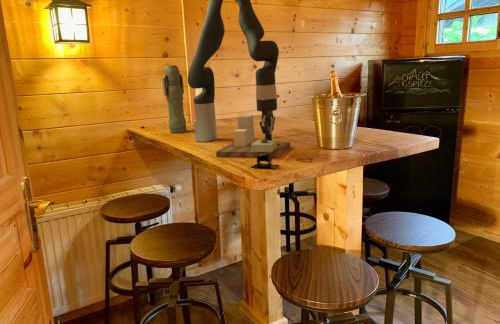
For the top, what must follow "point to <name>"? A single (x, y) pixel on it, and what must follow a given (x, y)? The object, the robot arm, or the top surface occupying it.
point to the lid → (264, 146)
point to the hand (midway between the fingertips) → (268, 143)
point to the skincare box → (247, 125)
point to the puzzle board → (246, 151)
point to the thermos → (174, 99)
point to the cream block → (241, 138)
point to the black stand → (264, 166)
